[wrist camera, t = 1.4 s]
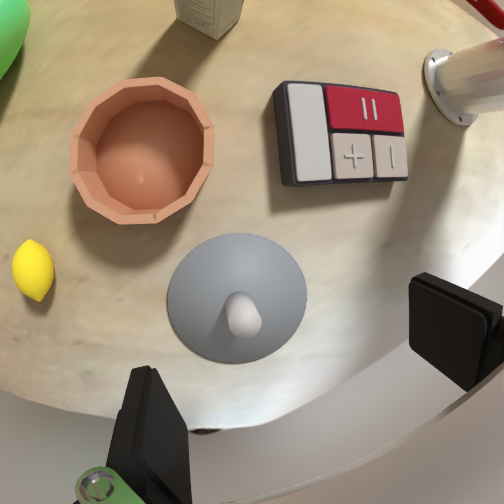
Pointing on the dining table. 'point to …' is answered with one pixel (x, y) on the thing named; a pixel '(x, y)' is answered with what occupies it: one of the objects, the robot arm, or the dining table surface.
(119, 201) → the bowl
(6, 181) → the dining table surface
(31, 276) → the lemon
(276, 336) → the lid
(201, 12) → the skincare box
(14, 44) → the toy bird
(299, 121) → the calculator
